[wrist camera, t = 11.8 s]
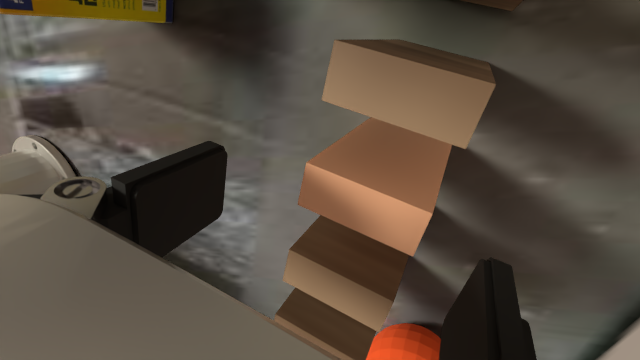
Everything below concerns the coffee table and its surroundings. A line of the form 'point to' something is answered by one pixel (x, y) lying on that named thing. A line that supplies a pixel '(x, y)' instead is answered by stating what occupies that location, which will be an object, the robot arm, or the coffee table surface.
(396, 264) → the domino
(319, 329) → the domino
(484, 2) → the domino
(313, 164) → the domino
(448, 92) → the domino
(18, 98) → the coffee table surface
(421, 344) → the clementine
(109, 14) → the supplement box
